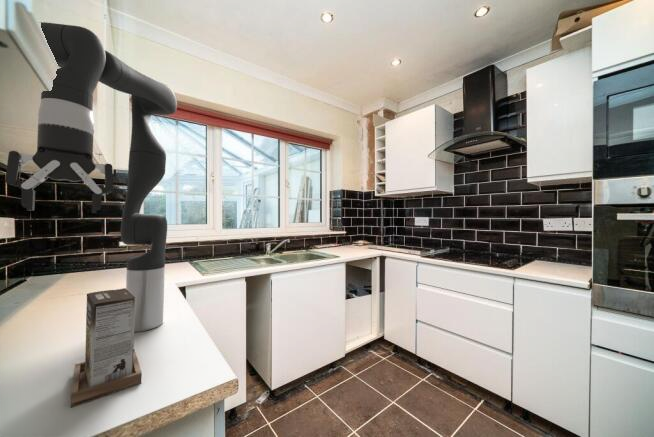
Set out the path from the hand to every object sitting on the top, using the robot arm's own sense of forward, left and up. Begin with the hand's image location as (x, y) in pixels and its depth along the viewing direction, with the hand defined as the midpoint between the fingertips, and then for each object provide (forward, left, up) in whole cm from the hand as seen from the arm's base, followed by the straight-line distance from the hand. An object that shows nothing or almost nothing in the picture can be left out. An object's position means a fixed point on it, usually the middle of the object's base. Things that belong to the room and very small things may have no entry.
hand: (64, 211), depth 49 cm
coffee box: (+5, +7, -33) cm, 34 cm away
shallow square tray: (+5, +7, -33) cm, 34 cm away
